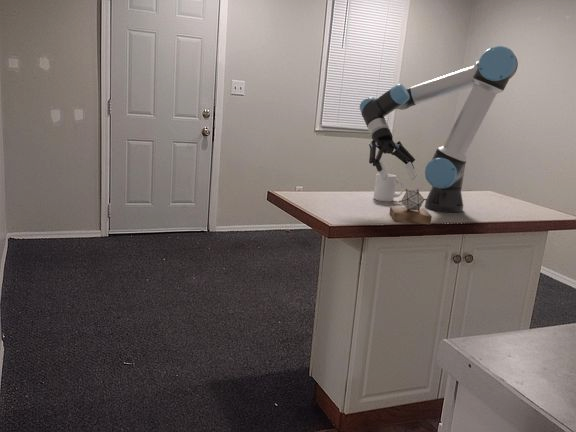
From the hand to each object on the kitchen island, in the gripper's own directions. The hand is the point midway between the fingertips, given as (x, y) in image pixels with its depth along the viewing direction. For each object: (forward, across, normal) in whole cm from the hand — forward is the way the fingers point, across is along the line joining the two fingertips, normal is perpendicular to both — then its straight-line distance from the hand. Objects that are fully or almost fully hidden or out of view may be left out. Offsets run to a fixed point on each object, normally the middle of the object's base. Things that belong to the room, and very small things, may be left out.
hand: (400, 177), depth 196 cm
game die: (+14, 0, -2) cm, 14 cm away
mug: (-6, -14, -26) cm, 30 cm away
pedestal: (+15, 0, -4) cm, 16 cm away
